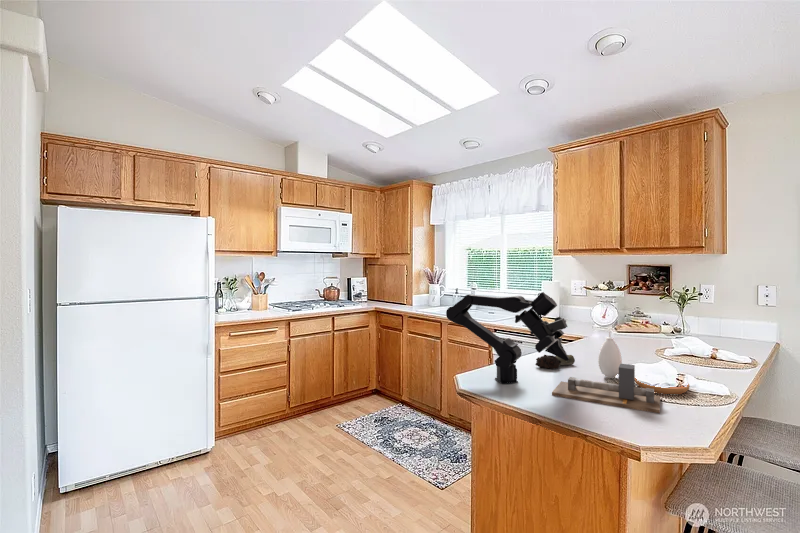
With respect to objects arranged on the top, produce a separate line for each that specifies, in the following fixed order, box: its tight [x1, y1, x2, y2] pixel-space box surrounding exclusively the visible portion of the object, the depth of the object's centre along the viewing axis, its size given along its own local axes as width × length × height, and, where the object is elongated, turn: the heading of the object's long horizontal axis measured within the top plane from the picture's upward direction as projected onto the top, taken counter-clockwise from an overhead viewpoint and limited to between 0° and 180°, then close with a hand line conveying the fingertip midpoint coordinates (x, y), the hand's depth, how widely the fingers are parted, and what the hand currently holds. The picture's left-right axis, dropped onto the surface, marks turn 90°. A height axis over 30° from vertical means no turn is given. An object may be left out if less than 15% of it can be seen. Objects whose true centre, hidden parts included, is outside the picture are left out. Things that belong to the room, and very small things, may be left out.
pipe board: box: [551, 376, 661, 414], centre depth 129 cm, size 30×14×5 cm, turn 56°
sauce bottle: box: [597, 330, 623, 379], centre depth 150 cm, size 8×8×18 cm
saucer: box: [635, 378, 690, 395], centre depth 137 cm, size 16×16×3 cm
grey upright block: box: [618, 363, 636, 400], centre depth 125 cm, size 4×6×10 cm
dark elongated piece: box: [534, 354, 576, 370], centre depth 167 cm, size 18×7×6 cm, turn 111°
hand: (567, 359), depth 135 cm, fingers closed
